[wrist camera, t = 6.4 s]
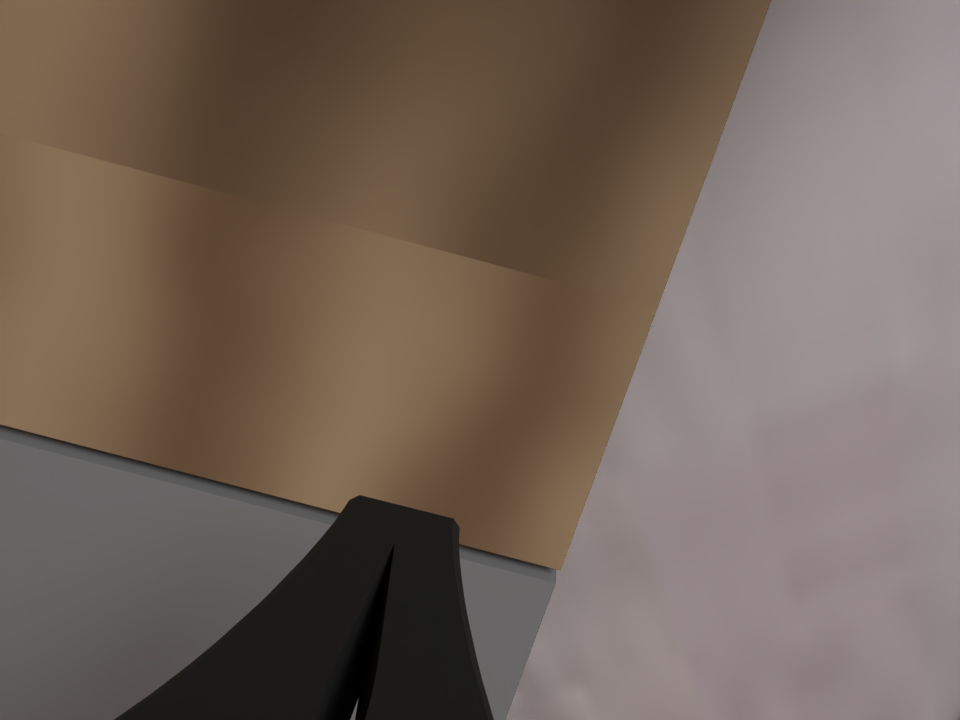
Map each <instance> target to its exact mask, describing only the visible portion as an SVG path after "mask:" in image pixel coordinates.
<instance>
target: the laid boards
mask: <svg viewBox="0 0 960 720" xmlns="http://www.w3.org/2000/svg"><path fill="white" fill-rule="evenodd" d="M770 2H771V0H0V424H1V425H4V426H8V427H12V428H16V429H20V430H24V431H27V432H31V433H35V434H39V435H43V436H47V437H50V438H54V439H58V440H62V441H66V442H70V443H73V444H77V445H81V446H85V447H89V448H93V449H96V450H100V451H104V452H108V453H112V454H116V455H120V456H123V457H127V458H131V459H135V460H139V461H143V462H146V463H150V464H154V465H158V466H162V467H166V468H169V469H173V470H177V471H181V472H185V473H189V474H192V475H196V476H200V477H204V478H208V479H212V480H215V481H219V482H223V483H227V484H231V485H235V486H238V487H242V488H246V489H250V490H254V491H258V492H261V493H265V494H269V495H273V496H277V497H281V498H285V499H288V500H292V501H296V502H300V503H304V504H308V505H311V506H315V507H319V508H323V509H327V510H331V511H334V512H338V513H341V512H342V510H343V509H344V507H345V506H346V504H347V503H348V501H349V500H350V499H352V498H354V497H356V496H359V495H362V496H366V497H370V498H374V499H378V500H382V501H386V502H390V503H394V504H398V505H402V506H406V507H410V508H414V509H418V510H422V511H426V512H430V513H434V514H438V515H442V516H446V517H450V518H454V520H455V521H456V523H457V524H458V526H459V527H460V533H459V544H461V545H465V546H469V547H473V548H476V549H480V550H484V551H488V552H492V553H496V554H499V555H503V556H507V557H511V558H515V559H519V560H522V561H526V562H530V563H534V564H538V565H542V566H545V567H549V568H553V569H557V570H561V567H562V565H563V562H564V559H565V556H566V554H567V551H568V548H569V546H570V543H571V540H572V537H573V535H574V532H575V529H576V527H577V524H578V521H579V519H580V516H581V513H582V510H583V508H584V505H585V502H586V500H587V497H588V494H589V491H590V489H591V486H592V483H593V481H594V478H595V475H596V473H597V470H598V467H599V464H600V462H601V459H602V456H603V454H604V451H605V448H606V446H607V443H608V440H609V437H610V435H611V432H612V429H613V427H614V424H615V421H616V418H617V416H618V413H619V410H620V408H621V405H622V402H623V400H624V397H625V394H626V391H627V389H628V386H629V383H630V381H631V378H632V375H633V372H634V370H635V367H636V364H637V362H638V359H639V356H640V354H641V351H642V348H643V345H644V343H645V340H646V337H647V335H648V332H649V329H650V327H651V324H652V321H653V318H654V316H655V313H656V310H657V308H658V305H659V302H660V299H661V297H662V294H663V291H664V289H665V286H666V283H667V281H668V278H669V275H670V272H671V270H672V267H673V264H674V262H675V259H676V256H677V253H678V251H679V248H680V245H681V243H682V240H683V237H684V235H685V232H686V229H687V226H688V224H689V221H690V218H691V216H692V213H693V210H694V207H695V205H696V202H697V199H698V197H699V194H700V191H701V189H702V186H703V183H704V180H705V178H706V175H707V172H708V170H709V167H710V164H711V162H712V159H713V156H714V153H715V151H716V148H717V145H718V143H719V140H720V137H721V134H722V132H723V129H724V126H725V124H726V121H727V118H728V116H729V113H730V110H731V107H732V105H733V102H734V99H735V97H736V94H737V91H738V88H739V86H740V83H741V80H742V78H743V75H744V72H745V70H746V67H747V64H748V61H749V59H750V56H751V53H752V51H753V48H754V45H755V43H756V40H757V37H758V34H759V32H760V29H761V26H762V24H763V21H764V18H765V15H766V13H767V10H768V7H769V5H770Z"/></svg>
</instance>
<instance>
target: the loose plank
mask: <svg viewBox="0 0 960 720" xmlns="http://www.w3.org/2000/svg"><path fill="white" fill-rule="evenodd" d="M339 515H340V513H338V512H334V511H331V510H327V509H323V508H319V507H315V506H311V505H308V504H304V503H300V502H296V501H292V500H288V499H285V498H281V497H277V496H273V495H269V494H265V493H261V492H258V491H254V490H250V489H246V488H242V487H238V486H235V485H231V484H227V483H223V482H219V481H215V480H212V479H208V478H204V477H200V476H196V475H192V474H189V473H185V472H181V471H177V470H173V469H169V468H166V467H162V466H158V465H154V464H150V463H146V462H143V461H139V460H135V459H131V458H127V457H123V456H120V455H116V454H112V453H108V452H104V451H100V450H96V449H93V448H89V447H85V446H81V445H77V444H73V443H70V442H66V441H62V440H58V439H54V438H50V437H47V436H43V435H39V434H35V433H31V432H27V431H24V430H20V429H16V428H12V427H8V426H4V425H1V424H0V720H114V719H115V718H117V717H118V716H120V715H121V714H123V713H124V712H126V711H127V710H128V709H130V708H131V707H133V706H134V705H136V704H137V703H139V702H140V701H141V700H143V699H144V698H146V697H147V696H148V695H150V694H151V693H153V692H154V691H155V690H156V689H158V688H159V687H160V686H162V685H163V684H164V683H166V682H167V681H168V680H170V679H171V678H172V677H174V676H175V675H176V674H178V673H179V672H180V671H181V670H183V669H184V668H185V667H186V666H188V665H189V664H190V663H191V662H193V661H194V660H195V659H196V658H198V657H199V656H200V655H201V654H202V653H204V652H205V651H206V650H207V649H208V648H210V647H211V646H212V645H213V644H214V643H216V642H217V641H218V640H219V639H220V638H221V637H222V636H223V635H225V634H226V633H227V632H228V631H229V630H230V629H231V628H232V627H233V626H235V625H236V624H237V623H238V622H239V621H240V620H241V619H242V618H243V617H244V616H246V615H247V614H248V613H249V612H250V611H251V610H252V609H253V608H254V607H256V606H257V605H258V604H259V603H260V602H261V601H262V600H263V599H264V598H265V597H266V596H267V595H268V594H269V593H270V592H271V591H272V590H273V589H274V588H275V587H276V586H277V585H278V584H279V583H280V582H281V581H282V580H283V579H284V578H285V577H286V576H287V575H288V574H289V573H290V572H291V570H292V569H293V568H294V567H295V566H296V565H297V564H298V563H299V562H300V561H301V560H302V559H303V558H304V557H305V556H306V555H307V553H308V552H309V551H310V550H311V549H312V548H313V547H314V545H315V544H316V543H317V542H318V541H319V540H320V539H321V537H322V536H323V535H324V534H325V533H326V531H327V530H328V529H329V528H330V526H331V525H332V524H333V523H334V521H335V520H336V519H337V517H338V516H339ZM459 553H460V567H461V576H462V583H463V591H464V598H465V604H466V609H467V615H468V620H469V625H470V629H471V634H472V638H473V643H474V648H475V652H476V657H477V661H478V665H479V669H480V673H481V677H482V680H483V684H484V687H485V691H486V694H487V698H488V701H489V705H490V708H491V711H492V715H493V718H494V720H505V719H506V716H507V714H508V711H509V708H510V705H511V703H512V700H513V697H514V695H515V692H516V689H517V686H518V684H519V681H520V678H521V676H522V673H523V670H524V667H525V665H526V662H527V659H528V657H529V654H530V651H531V648H532V646H533V643H534V640H535V638H536V635H537V632H538V630H539V627H540V624H541V621H542V619H543V616H544V613H545V611H546V608H547V605H548V602H549V600H550V597H551V594H552V592H553V589H554V586H555V583H556V569H553V568H549V567H545V566H542V565H538V564H534V563H530V562H526V561H522V560H519V559H515V558H511V557H507V556H503V555H499V554H496V553H492V552H488V551H484V550H480V549H476V548H473V547H469V546H465V545H461V544H459ZM358 699H359V698H358ZM357 705H358V701H357V704H356V706H355V709H354V712H353V714H352V717H351V719H350V720H355V716H356V710H357Z"/></svg>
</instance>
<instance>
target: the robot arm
mask: <svg viewBox="0 0 960 720" xmlns="http://www.w3.org/2000/svg"><path fill="white" fill-rule="evenodd" d="M459 533H460V527H459V526H458V524H457V523H456V521H455V520H454V518H450V517H446V516H442V515H438V514H434V513H430V512H426V511H422V510H418V509H414V508H410V507H406V506H402V505H398V504H394V503H390V502H386V501H382V500H378V499H374V498H370V497H366V496H362V495H359V496H356V497H354V498H352V499H350V500H349V501H348V503H347V504H346V506H345V507H344V509H343V510H342V512H341V513H340V515H339V516H338V517H337V519H336V520H335V521H334V523H333V524H332V525H331V526H330V528H329V529H328V530H327V531H326V533H325V534H324V535H323V536H322V537H321V539H320V540H319V541H318V542H317V543H316V544H315V545H314V547H313V548H312V549H311V550H310V551H309V552H308V553H307V555H306V556H305V557H304V558H303V559H302V560H301V561H300V562H299V563H298V564H297V565H296V566H295V567H294V568H293V569H292V570H291V572H290V573H289V574H288V575H287V576H286V577H285V578H284V579H283V580H282V581H281V582H280V583H279V584H278V585H277V586H276V587H275V588H274V589H273V590H272V591H271V592H270V593H269V594H268V595H267V596H266V597H265V598H264V599H263V600H262V601H261V602H260V603H259V604H258V605H257V606H256V607H254V608H253V609H252V610H251V611H250V612H249V613H248V614H247V615H246V616H244V617H243V618H242V619H241V620H240V621H239V622H238V623H237V624H236V625H235V626H233V627H232V628H231V629H230V630H229V631H228V632H227V633H226V634H225V635H223V636H222V637H221V638H220V639H219V640H218V641H217V642H216V643H214V644H213V645H212V646H211V647H210V648H208V649H207V650H206V651H205V652H204V653H202V654H201V655H200V656H199V657H198V658H196V659H195V660H194V661H193V662H191V663H190V664H189V665H188V666H186V667H185V668H184V669H183V670H181V671H180V672H179V673H178V674H176V675H175V676H174V677H172V678H171V679H170V680H168V681H167V682H166V683H164V684H163V685H162V686H160V687H159V688H158V689H156V690H155V691H154V692H153V693H151V694H150V695H148V696H147V697H146V698H144V699H143V700H141V701H140V702H139V703H137V704H136V705H134V706H133V707H131V708H130V709H128V710H127V711H126V712H124V713H123V714H121V715H120V716H118V717H117V718H115V719H114V720H350V719H351V717H352V714H353V712H354V709H355V706H356V704H357V701H358V705H357V710H356V716H355V720H494V718H493V715H492V711H491V708H490V705H489V701H488V698H487V694H486V691H485V687H484V684H483V680H482V677H481V673H480V669H479V665H478V661H477V657H476V652H475V648H474V643H473V638H472V634H471V629H470V625H469V620H468V615H467V609H466V604H465V598H464V591H463V583H462V576H461V567H460V553H459ZM358 698H359V699H358Z"/></svg>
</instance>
